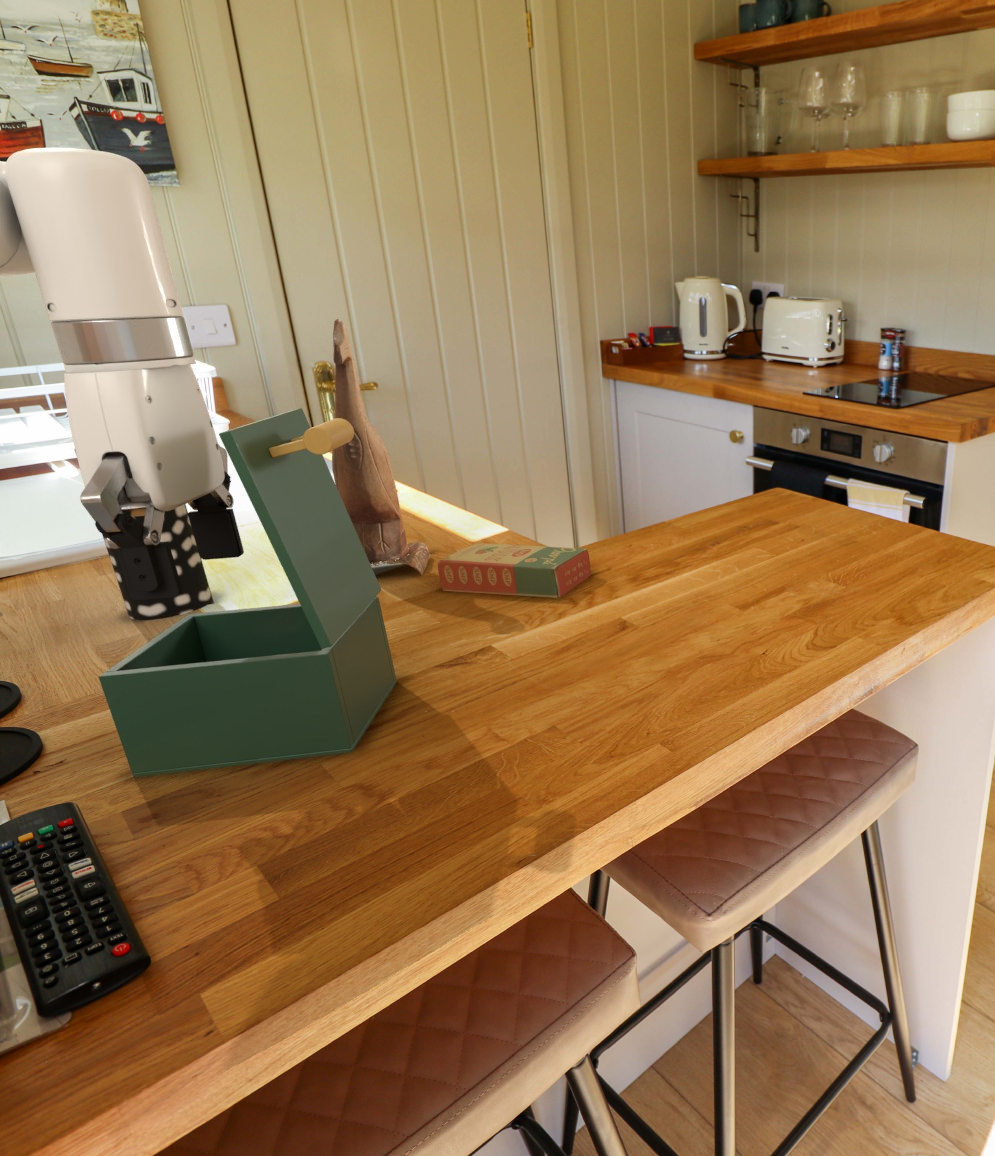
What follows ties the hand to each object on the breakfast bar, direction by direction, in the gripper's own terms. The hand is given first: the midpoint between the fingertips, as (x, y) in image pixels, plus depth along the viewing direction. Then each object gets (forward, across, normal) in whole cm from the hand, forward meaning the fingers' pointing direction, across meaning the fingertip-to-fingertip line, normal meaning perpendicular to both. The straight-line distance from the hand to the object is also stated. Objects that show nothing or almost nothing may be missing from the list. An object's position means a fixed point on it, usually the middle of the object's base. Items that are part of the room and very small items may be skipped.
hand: (192, 575), depth 64 cm
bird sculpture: (+14, -43, -1) cm, 46 cm away
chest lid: (-3, 0, +9) cm, 10 cm away
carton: (+14, -32, +18) cm, 40 cm away
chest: (+14, 0, +3) cm, 14 cm away
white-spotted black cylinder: (+14, -35, -22) cm, 44 cm away
